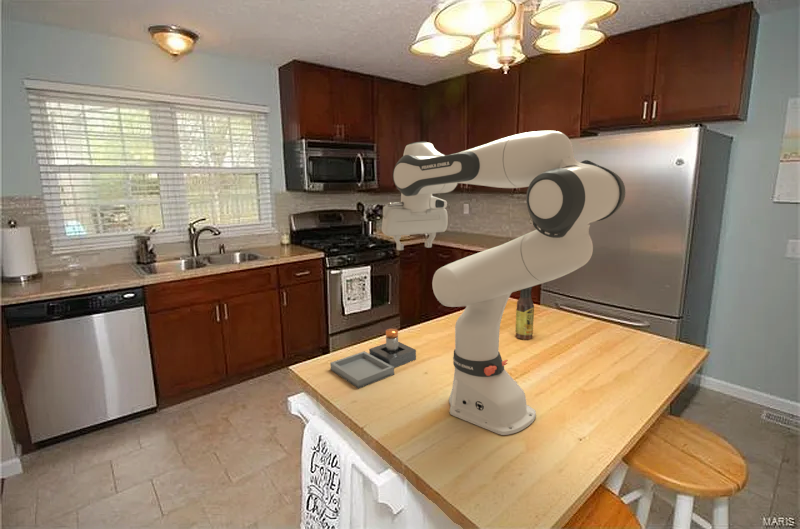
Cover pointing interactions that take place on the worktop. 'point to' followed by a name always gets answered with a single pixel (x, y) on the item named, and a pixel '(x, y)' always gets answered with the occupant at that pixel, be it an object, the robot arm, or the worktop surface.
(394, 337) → the pin
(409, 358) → the receiver
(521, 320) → the sauce bottle
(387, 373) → the tray
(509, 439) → the worktop surface
